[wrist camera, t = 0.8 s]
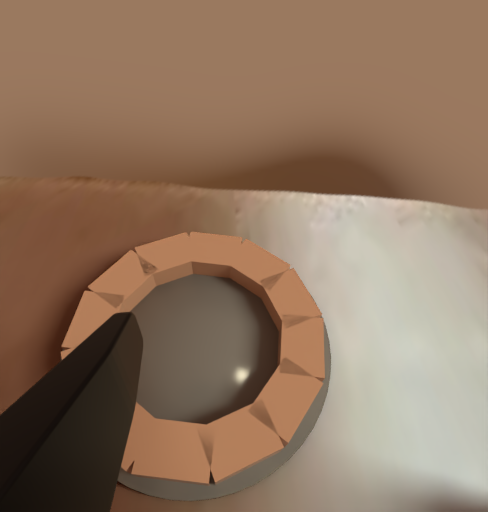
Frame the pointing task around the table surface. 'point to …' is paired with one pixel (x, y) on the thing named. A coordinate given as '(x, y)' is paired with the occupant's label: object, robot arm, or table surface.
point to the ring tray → (212, 362)
